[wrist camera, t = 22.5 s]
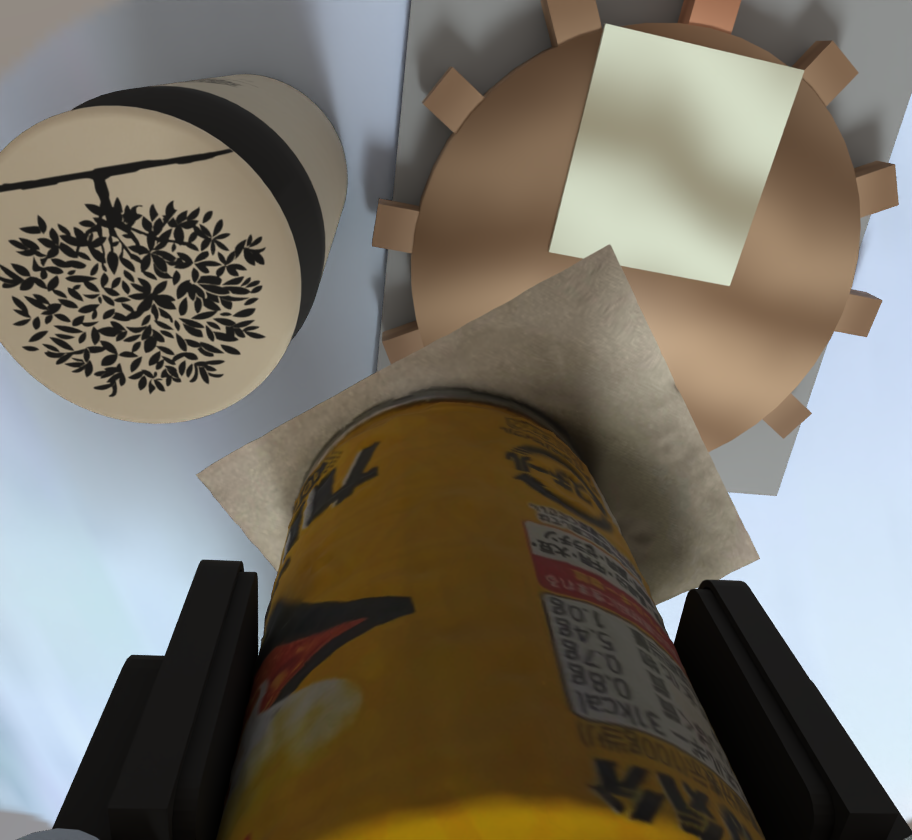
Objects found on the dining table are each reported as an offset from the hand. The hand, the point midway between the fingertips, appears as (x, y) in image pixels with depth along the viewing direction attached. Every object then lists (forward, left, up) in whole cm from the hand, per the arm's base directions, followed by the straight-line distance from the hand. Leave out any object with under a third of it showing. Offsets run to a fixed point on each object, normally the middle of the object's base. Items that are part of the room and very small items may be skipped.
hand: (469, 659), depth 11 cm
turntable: (0, -10, -28) cm, 29 cm away
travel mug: (+2, +7, -28) cm, 29 cm away
